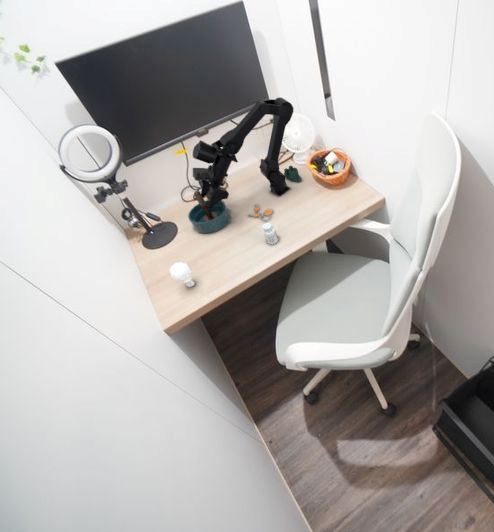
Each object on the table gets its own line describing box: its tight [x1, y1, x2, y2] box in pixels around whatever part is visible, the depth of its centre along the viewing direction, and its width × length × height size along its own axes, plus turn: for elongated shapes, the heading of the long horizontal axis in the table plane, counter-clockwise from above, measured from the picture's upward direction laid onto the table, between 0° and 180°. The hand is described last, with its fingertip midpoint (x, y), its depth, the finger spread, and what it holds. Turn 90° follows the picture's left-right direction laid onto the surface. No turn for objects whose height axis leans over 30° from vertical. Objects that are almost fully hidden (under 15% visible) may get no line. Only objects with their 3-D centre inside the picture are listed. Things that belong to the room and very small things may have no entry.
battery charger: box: [197, 180, 211, 200], centre depth 141 cm, size 7×4×11 cm, turn 49°
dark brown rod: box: [193, 190, 218, 222], centre depth 130 cm, size 6×6×15 cm
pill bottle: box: [262, 222, 279, 245], centre depth 121 cm, size 4×4×8 cm
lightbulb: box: [169, 261, 196, 288], centre depth 109 cm, size 6×6×11 cm
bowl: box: [188, 199, 231, 234], centre depth 133 cm, size 15×15×6 cm
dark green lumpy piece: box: [283, 165, 303, 183], centre depth 149 cm, size 11×4×5 cm, turn 48°
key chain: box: [248, 203, 273, 222], centre depth 135 cm, size 13×7×1 cm, turn 54°
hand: (205, 202), depth 129 cm, fingers open, 9 cm apart
